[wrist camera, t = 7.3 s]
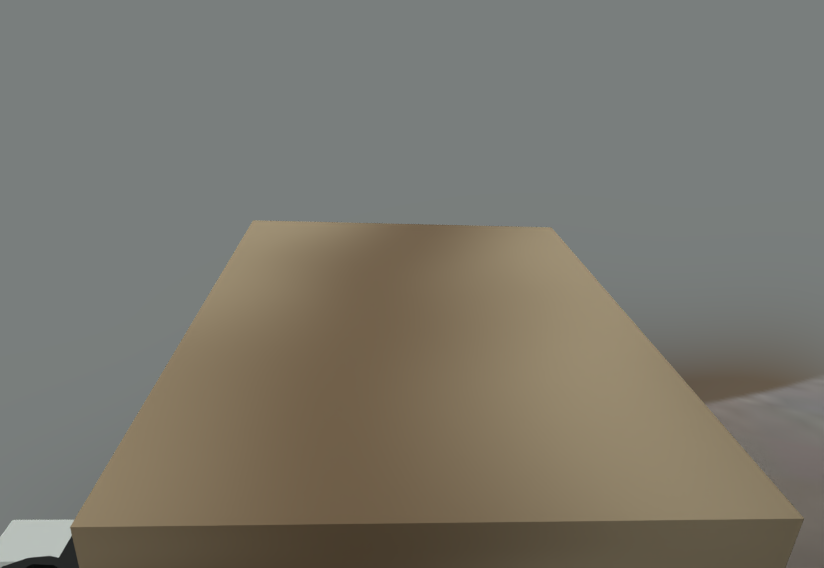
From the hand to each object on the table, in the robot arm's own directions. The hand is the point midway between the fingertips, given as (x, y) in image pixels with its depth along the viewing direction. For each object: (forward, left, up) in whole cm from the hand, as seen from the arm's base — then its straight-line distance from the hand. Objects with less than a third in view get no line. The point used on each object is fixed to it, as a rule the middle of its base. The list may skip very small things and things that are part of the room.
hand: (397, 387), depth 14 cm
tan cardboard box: (0, +4, -7) cm, 8 cm away
